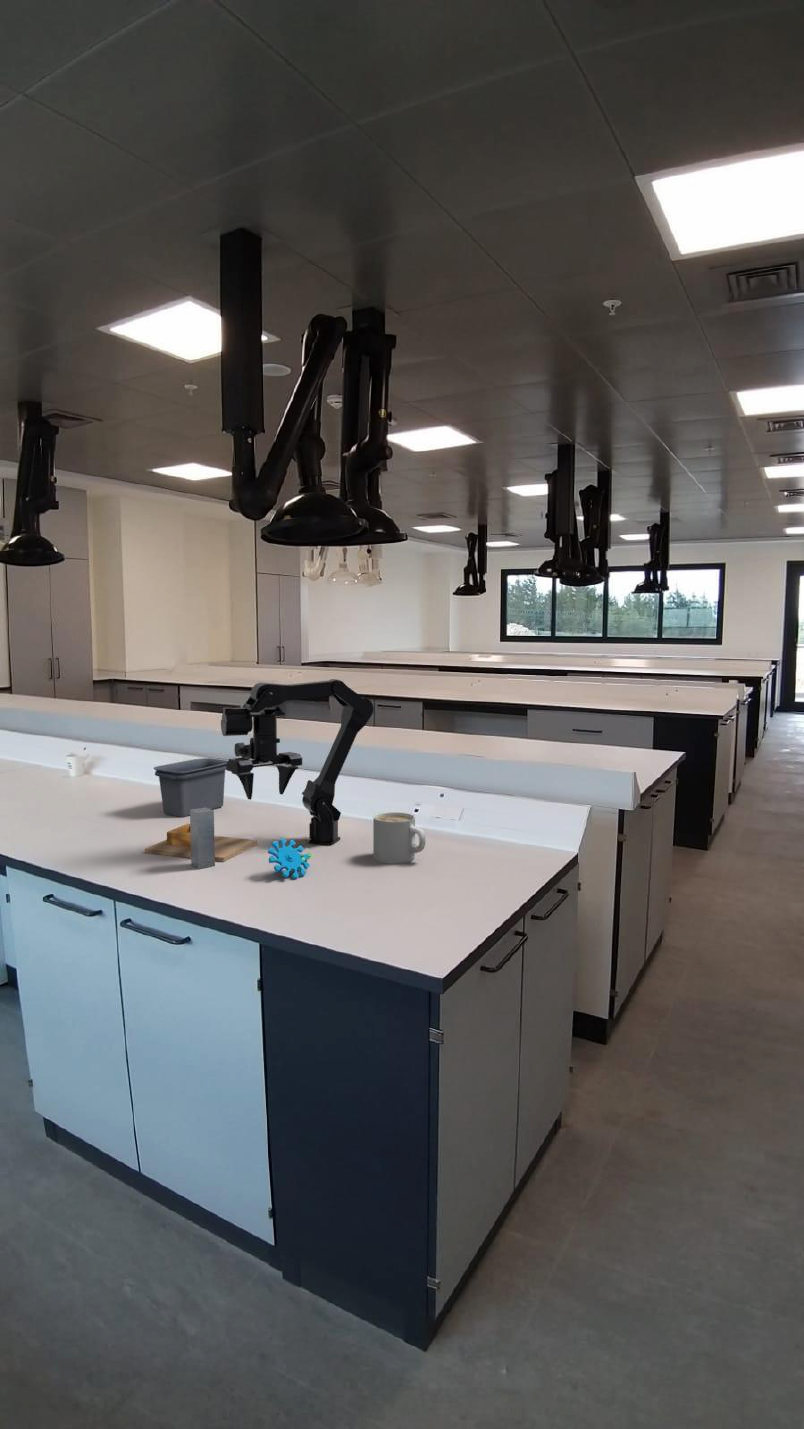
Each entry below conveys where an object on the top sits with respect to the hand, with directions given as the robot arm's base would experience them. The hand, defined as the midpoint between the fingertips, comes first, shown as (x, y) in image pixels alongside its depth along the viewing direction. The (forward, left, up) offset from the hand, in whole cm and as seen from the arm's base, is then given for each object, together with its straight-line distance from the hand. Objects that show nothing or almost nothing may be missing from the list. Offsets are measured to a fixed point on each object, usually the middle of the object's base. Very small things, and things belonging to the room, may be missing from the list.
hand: (265, 796), depth 187 cm
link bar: (+7, +17, -13) cm, 23 cm away
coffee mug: (-34, -3, -13) cm, 37 cm away
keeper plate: (+15, +5, -13) cm, 21 cm away
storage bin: (+41, -29, -13) cm, 52 cm away
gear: (-15, +16, -13) cm, 26 cm away
